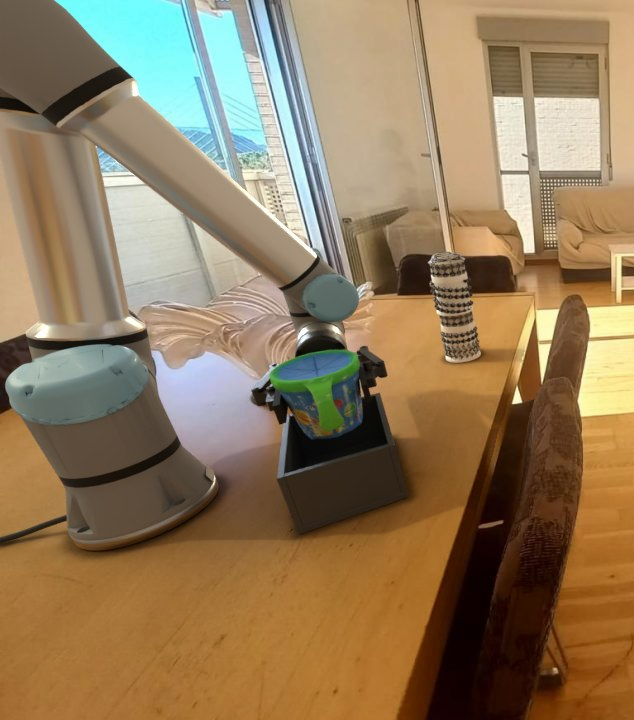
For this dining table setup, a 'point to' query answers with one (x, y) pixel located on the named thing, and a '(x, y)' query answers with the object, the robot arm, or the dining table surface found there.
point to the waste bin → (339, 470)
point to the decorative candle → (454, 307)
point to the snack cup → (322, 392)
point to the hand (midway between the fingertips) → (324, 403)
